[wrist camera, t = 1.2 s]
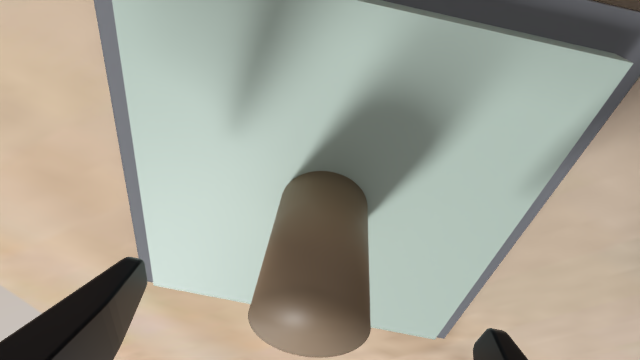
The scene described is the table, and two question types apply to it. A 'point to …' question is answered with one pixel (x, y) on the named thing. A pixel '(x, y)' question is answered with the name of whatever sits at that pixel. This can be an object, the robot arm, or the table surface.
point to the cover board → (342, 154)
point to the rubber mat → (466, 3)
